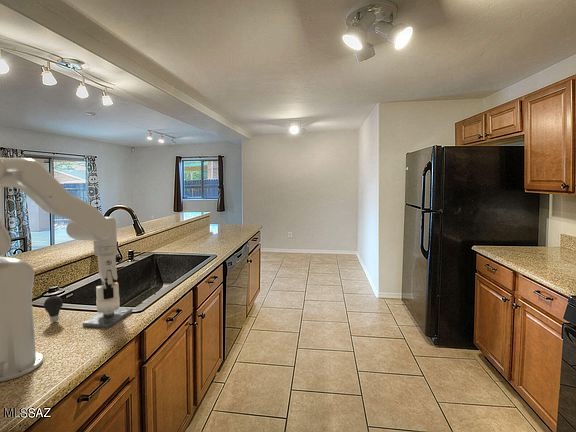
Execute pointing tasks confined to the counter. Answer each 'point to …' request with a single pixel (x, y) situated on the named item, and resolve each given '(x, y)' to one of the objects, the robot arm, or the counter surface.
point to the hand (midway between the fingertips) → (107, 296)
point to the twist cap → (110, 303)
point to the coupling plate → (107, 318)
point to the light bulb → (53, 307)
